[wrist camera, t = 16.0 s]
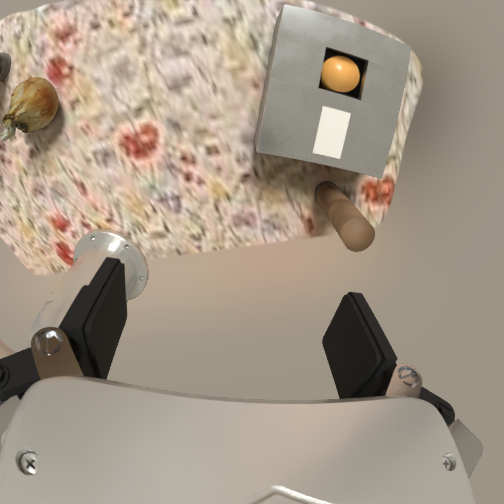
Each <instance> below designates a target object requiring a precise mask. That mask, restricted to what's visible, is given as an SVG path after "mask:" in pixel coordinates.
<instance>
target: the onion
mask: <svg viewBox="0 0 504 504" xmlns="http://www.w3.org/2000/svg"><path fill="white" fill-rule="evenodd" d="M55 90H56V89H54V87H53V86H52V84H51V83H50V82H49V81H47V80H46V79H44V78H40V77H35V78H31V79H28V80H25V81H24V82H22V83H21V84H19V85H18V86H17V87H16V88H15V90H14V91H13V93H12V95H11V103H10V111H8V112H7V113H5V115H4V116H3V118H2V122H4V123H3V125H2V126H4V127H5V128H6V129H5V131H4V132H3V133H2V134H1V137H2V138H1V141H6V140H7V139H9V138H10V137H12V136H13V135H14V134H15V131H16V127H17V128H18V129H19V130H22V133H23V132H25V133H27V132H32V131H36V130H39V129H42V128H44V127H45V126H47V125H48V124H49V123H50V122H51V121H52V119H53V118H54V116H55V114H56V112H57V109H58V103H59V101H58V96H57V93H56V91H55Z"/></svg>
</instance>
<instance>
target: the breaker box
mask: <svg viewBox="0 0 504 504" xmlns="http://www.w3.org/2000/svg"><path fill="white" fill-rule="evenodd" d="M410 52H411V47H409V46H407V45H405V44H403V43H401V42H399V41H397V40H394V39H392V38H390V37H388V36H385V35H383V34H380V33H378V32H375V31H373V30H370V29H368V28H365V27H363V26H360V25H357V24H354V23H351V22H348V21H345V20H342V19H339V18H336V17H333V16H329V15H326V14H322V13H319V12H315V11H311V10H307V9H303V8H299V7H295V6H290V5H285V4H284V6H283V8H282V10H281V12H280V14H279V16H278V18H277V21H276V26H275V32H274V37H273V42H272V47H271V52H270V58H269V63H268V68H267V74H266V79H265V85H264V90H263V96H262V101H261V107H260V112H259V118H258V124H257V129H256V135H255V141H254V144H255V148H256V151H257V153H263V154H269V155H275V156H281V157H287V158H292V159H298V160H303V161H308V162H313V163H318V164H323V165H327V166H332V167H336V168H341V169H345V170H349V171H353V172H358V173H362V174H366V175H369V176H373V177H377V178H381V179H382V176H383V172H384V169H385V165H386V162H387V158H388V154H389V151H390V147H391V143H392V139H393V135H394V131H395V127H396V123H397V119H398V115H399V110H400V106H401V101H402V96H403V92H404V87H405V81H406V76H407V70H408V65H409V59H410ZM334 56H344V57H347V58H349V59H350V60H352V61H353V62H354V63H355V64H356V66H357V67H358V70H359V74H360V78H359V82H358V84H357V86H356V87H355V88H354V89H352V90H351V91H348V92H331V91H327V90H324V89H321V88H320V87H319V82H320V76H321V71H322V66H323V61H324V60H325V59H328V58H331V57H334Z"/></svg>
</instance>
